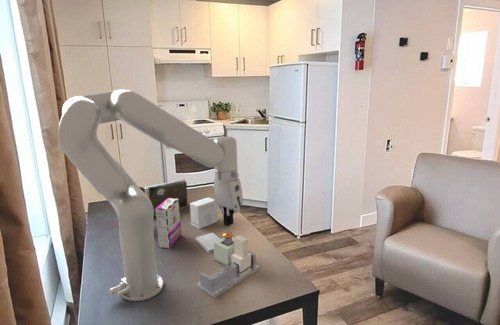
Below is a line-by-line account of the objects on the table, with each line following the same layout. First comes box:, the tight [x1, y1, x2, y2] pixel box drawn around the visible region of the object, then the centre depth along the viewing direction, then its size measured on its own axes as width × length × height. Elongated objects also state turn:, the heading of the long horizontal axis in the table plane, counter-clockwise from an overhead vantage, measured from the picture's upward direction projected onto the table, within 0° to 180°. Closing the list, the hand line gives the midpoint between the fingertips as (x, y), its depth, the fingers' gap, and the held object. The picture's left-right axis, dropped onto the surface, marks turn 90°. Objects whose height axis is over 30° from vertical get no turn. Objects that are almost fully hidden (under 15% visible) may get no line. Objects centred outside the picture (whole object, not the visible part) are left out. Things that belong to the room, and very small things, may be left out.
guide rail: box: [197, 250, 260, 299], centre depth 105 cm, size 20×8×5 cm, turn 137°
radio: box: [144, 178, 189, 219], centre depth 158 cm, size 23×9×15 cm, turn 130°
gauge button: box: [222, 231, 234, 246], centre depth 114 cm, size 4×4×7 cm
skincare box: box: [189, 196, 219, 230], centre depth 145 cm, size 10×6×10 cm, turn 135°
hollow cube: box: [213, 237, 235, 268], centre depth 115 cm, size 7×7×7 cm
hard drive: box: [194, 232, 221, 254], centre depth 128 cm, size 2×8×12 cm
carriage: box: [231, 234, 251, 272], centre depth 108 cm, size 5×4×10 cm
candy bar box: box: [155, 198, 182, 249], centre depth 128 cm, size 11×5×16 cm, turn 168°
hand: (228, 224), depth 113 cm, fingers closed
